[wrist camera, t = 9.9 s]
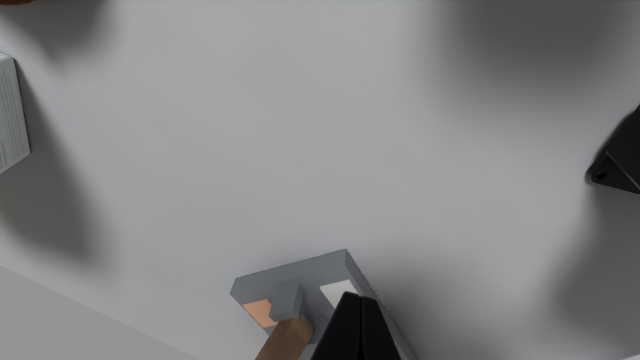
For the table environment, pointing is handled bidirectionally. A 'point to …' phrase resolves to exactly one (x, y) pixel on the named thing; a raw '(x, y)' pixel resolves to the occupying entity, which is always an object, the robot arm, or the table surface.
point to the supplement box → (11, 117)
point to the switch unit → (308, 295)
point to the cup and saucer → (15, 2)
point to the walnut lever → (287, 339)
